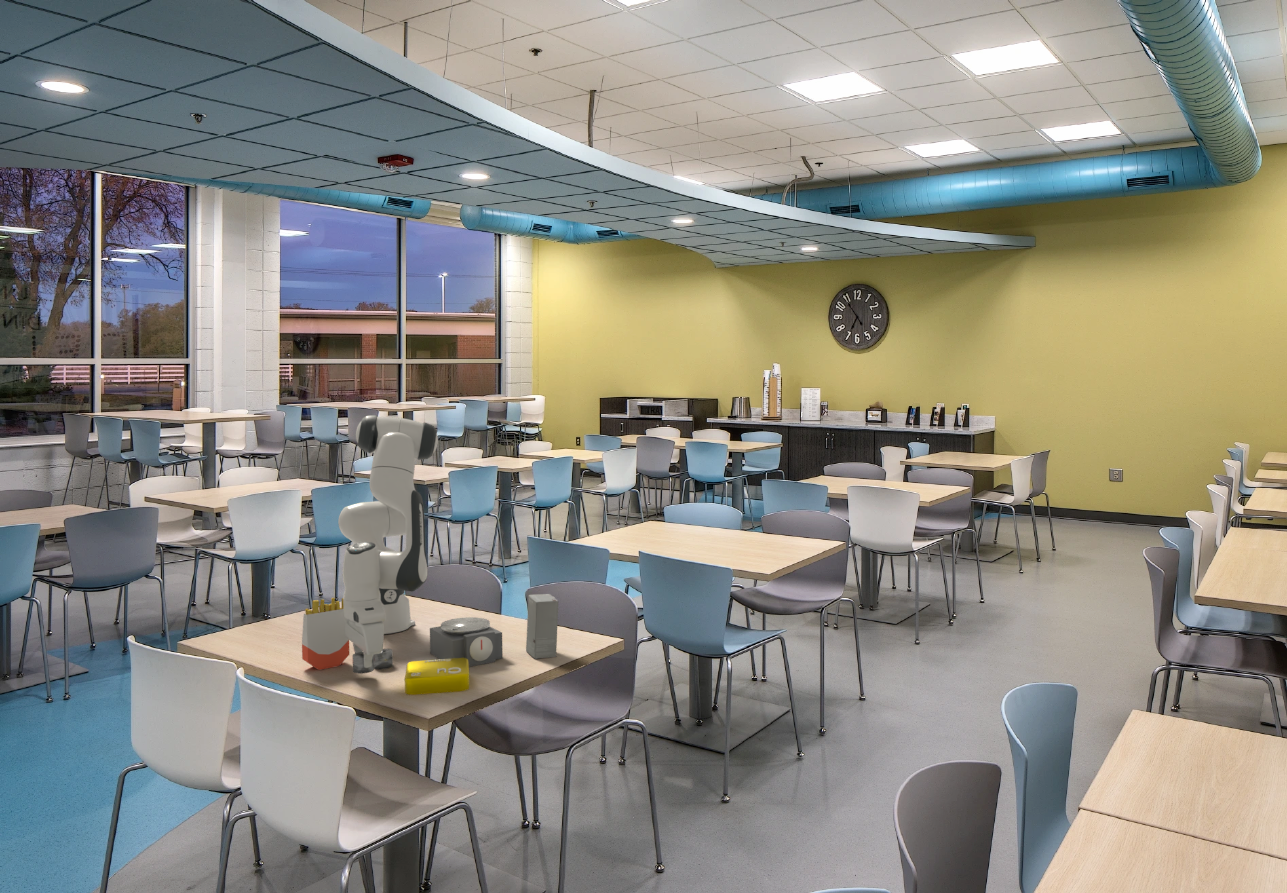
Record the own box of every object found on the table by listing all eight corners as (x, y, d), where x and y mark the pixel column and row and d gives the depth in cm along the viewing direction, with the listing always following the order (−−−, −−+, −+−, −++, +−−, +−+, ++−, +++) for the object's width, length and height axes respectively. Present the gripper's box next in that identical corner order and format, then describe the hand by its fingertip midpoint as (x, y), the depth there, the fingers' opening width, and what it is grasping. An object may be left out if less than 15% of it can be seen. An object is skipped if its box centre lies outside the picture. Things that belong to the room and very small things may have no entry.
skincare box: (525, 651, 245) (524, 594, 244) (550, 648, 248) (549, 592, 247) (534, 660, 237) (533, 601, 236) (559, 656, 240) (559, 598, 239)
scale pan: (433, 626, 242) (433, 621, 242) (477, 619, 250) (477, 615, 250) (452, 636, 232) (452, 632, 232) (497, 628, 239) (497, 624, 239)
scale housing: (430, 653, 244) (429, 624, 243) (477, 644, 252) (477, 616, 251) (456, 669, 229) (456, 638, 228) (506, 660, 237) (505, 630, 236)
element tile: (468, 673, 227) (468, 655, 227) (469, 692, 212) (469, 672, 212) (407, 677, 224) (407, 659, 224) (404, 697, 209) (404, 677, 209)
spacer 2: (370, 665, 233) (369, 650, 233) (388, 662, 236) (388, 647, 236) (376, 670, 229) (376, 654, 229) (395, 667, 232) (395, 651, 232)
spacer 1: (350, 669, 223) (350, 653, 222) (370, 666, 225) (369, 650, 225) (356, 674, 219) (355, 658, 218) (376, 671, 221) (376, 655, 221)
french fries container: (302, 668, 231) (300, 599, 230) (343, 660, 238) (341, 593, 237) (308, 672, 228) (306, 602, 227) (349, 663, 235) (348, 596, 234)
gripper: (337, 602, 228) (338, 655, 229) (361, 619, 211) (362, 676, 212) (362, 598, 231) (363, 651, 232) (388, 615, 214) (389, 671, 215)
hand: (363, 663), depth 222 cm, fingers closed on spacer 1, 5 cm apart
